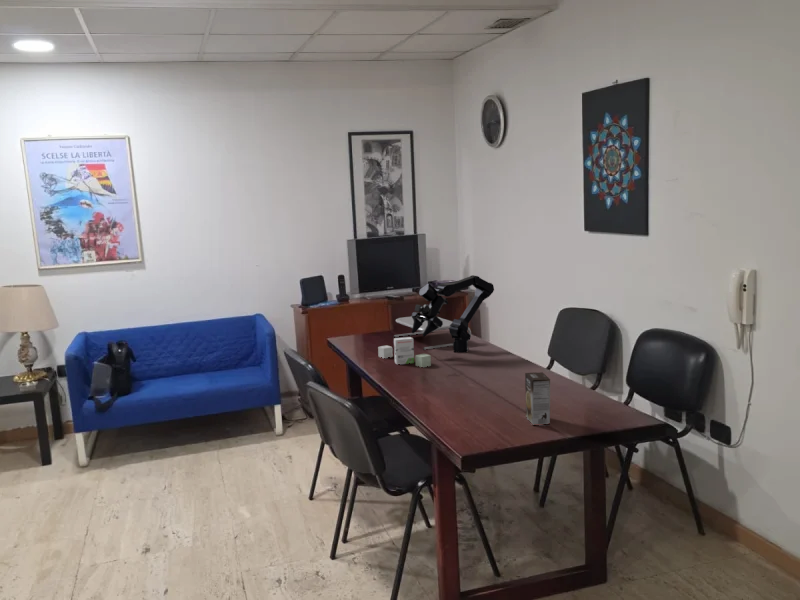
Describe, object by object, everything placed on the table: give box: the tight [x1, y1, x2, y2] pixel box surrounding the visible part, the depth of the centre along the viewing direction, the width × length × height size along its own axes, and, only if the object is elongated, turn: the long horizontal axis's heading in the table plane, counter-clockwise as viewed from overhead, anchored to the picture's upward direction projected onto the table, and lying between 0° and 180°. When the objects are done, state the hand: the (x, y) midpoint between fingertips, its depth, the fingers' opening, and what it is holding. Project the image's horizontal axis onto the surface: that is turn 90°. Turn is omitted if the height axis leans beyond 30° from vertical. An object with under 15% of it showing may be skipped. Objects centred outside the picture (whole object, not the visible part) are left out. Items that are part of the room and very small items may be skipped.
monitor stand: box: [393, 315, 472, 351], centre depth 371 cm, size 37×28×11 cm
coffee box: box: [524, 371, 551, 425], centre depth 238 cm, size 9×6×16 cm
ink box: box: [393, 336, 415, 366], centre depth 324 cm, size 9×5×12 cm, turn 103°
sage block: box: [414, 353, 432, 368], centre depth 319 cm, size 5×5×5 cm
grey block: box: [377, 344, 394, 359], centre depth 338 cm, size 5×5×5 cm
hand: (417, 334), depth 329 cm, fingers open, 9 cm apart
